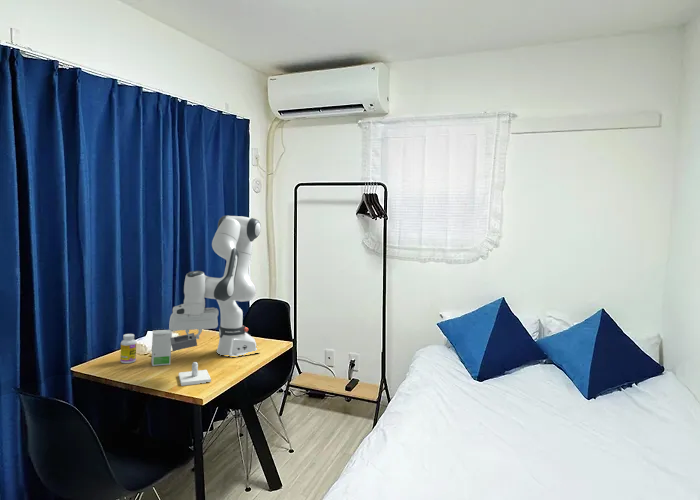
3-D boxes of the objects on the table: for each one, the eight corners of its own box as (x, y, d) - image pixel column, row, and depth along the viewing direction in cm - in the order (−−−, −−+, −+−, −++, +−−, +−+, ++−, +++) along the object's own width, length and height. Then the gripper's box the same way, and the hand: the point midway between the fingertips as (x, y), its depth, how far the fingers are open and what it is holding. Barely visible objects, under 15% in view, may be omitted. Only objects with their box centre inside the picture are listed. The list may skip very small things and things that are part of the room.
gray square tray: (194, 339, 199) (193, 332, 198) (197, 345, 190) (196, 339, 189) (171, 344, 195) (170, 337, 194) (172, 351, 186) (171, 344, 185)
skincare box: (151, 366, 204) (152, 333, 203) (151, 362, 210) (151, 330, 209) (171, 364, 208) (172, 332, 207) (169, 360, 214) (170, 328, 212)
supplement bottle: (129, 364, 205) (130, 337, 204) (117, 362, 206) (117, 336, 205) (139, 360, 211) (139, 334, 210) (127, 358, 213) (127, 332, 212)
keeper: (206, 372, 200) (207, 356, 199) (210, 382, 189) (211, 365, 189) (178, 375, 195) (178, 359, 194) (181, 385, 184) (181, 368, 183)
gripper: (217, 305, 200) (216, 335, 201) (169, 307, 191) (168, 338, 192) (219, 308, 194) (218, 339, 195) (170, 310, 185) (169, 342, 186)
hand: (193, 339), depth 194 cm, fingers closed on gray square tray, 2 cm apart
